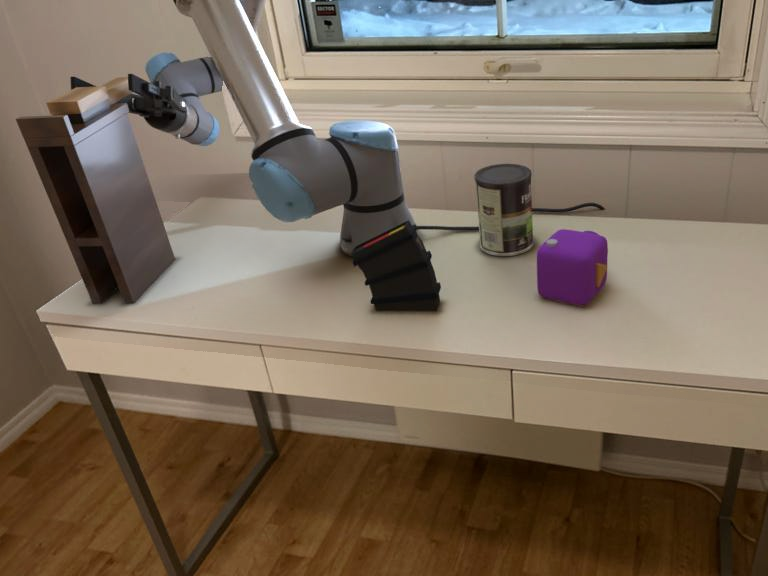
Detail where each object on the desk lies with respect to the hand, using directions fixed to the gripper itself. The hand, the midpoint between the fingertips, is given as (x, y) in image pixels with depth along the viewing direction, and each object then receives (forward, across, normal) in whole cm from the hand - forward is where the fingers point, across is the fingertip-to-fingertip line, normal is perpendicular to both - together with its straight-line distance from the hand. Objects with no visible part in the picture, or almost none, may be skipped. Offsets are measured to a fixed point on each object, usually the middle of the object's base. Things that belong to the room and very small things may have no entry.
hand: (101, 83), depth 131 cm
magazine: (+1, -53, -39) cm, 66 cm away
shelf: (-8, 0, -34) cm, 35 cm away
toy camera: (-4, -82, -36) cm, 90 cm away
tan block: (0, 0, -4) cm, 4 cm away
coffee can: (-19, -69, -28) cm, 77 cm away
